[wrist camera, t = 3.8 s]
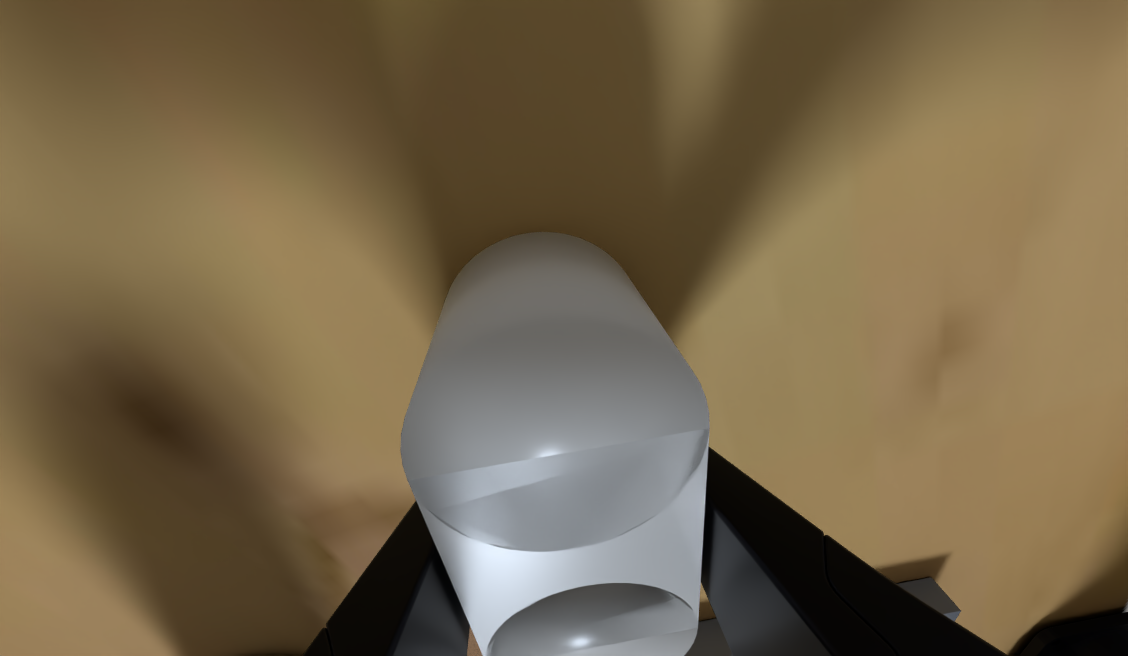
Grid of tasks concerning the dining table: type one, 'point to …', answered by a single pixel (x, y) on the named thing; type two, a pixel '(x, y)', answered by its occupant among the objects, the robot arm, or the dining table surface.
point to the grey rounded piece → (561, 456)
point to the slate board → (714, 652)
